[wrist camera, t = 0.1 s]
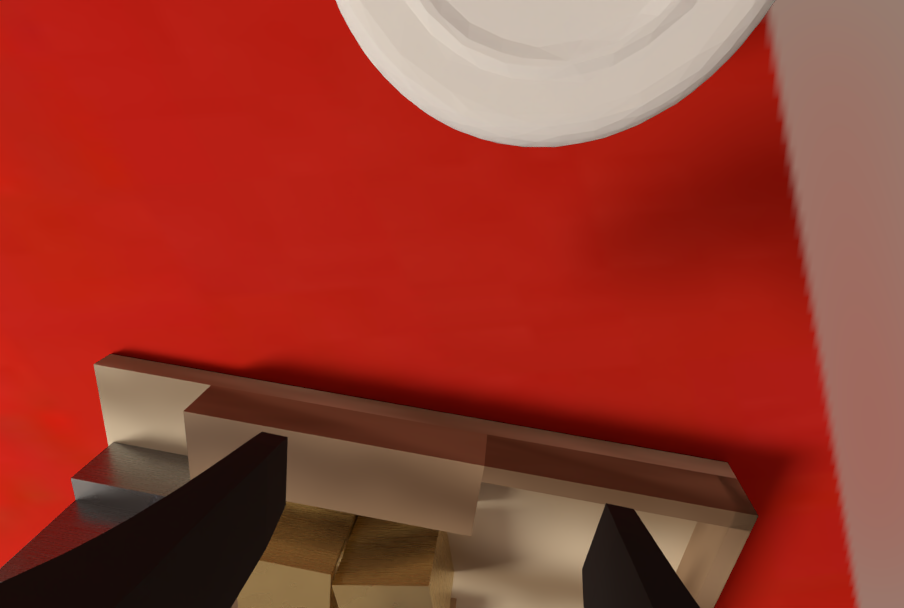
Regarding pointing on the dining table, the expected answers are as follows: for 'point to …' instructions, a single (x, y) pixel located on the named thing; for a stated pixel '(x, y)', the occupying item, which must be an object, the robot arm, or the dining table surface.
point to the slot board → (504, 516)
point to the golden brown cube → (394, 567)
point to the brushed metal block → (104, 500)
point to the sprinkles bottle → (548, 60)
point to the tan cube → (300, 560)
